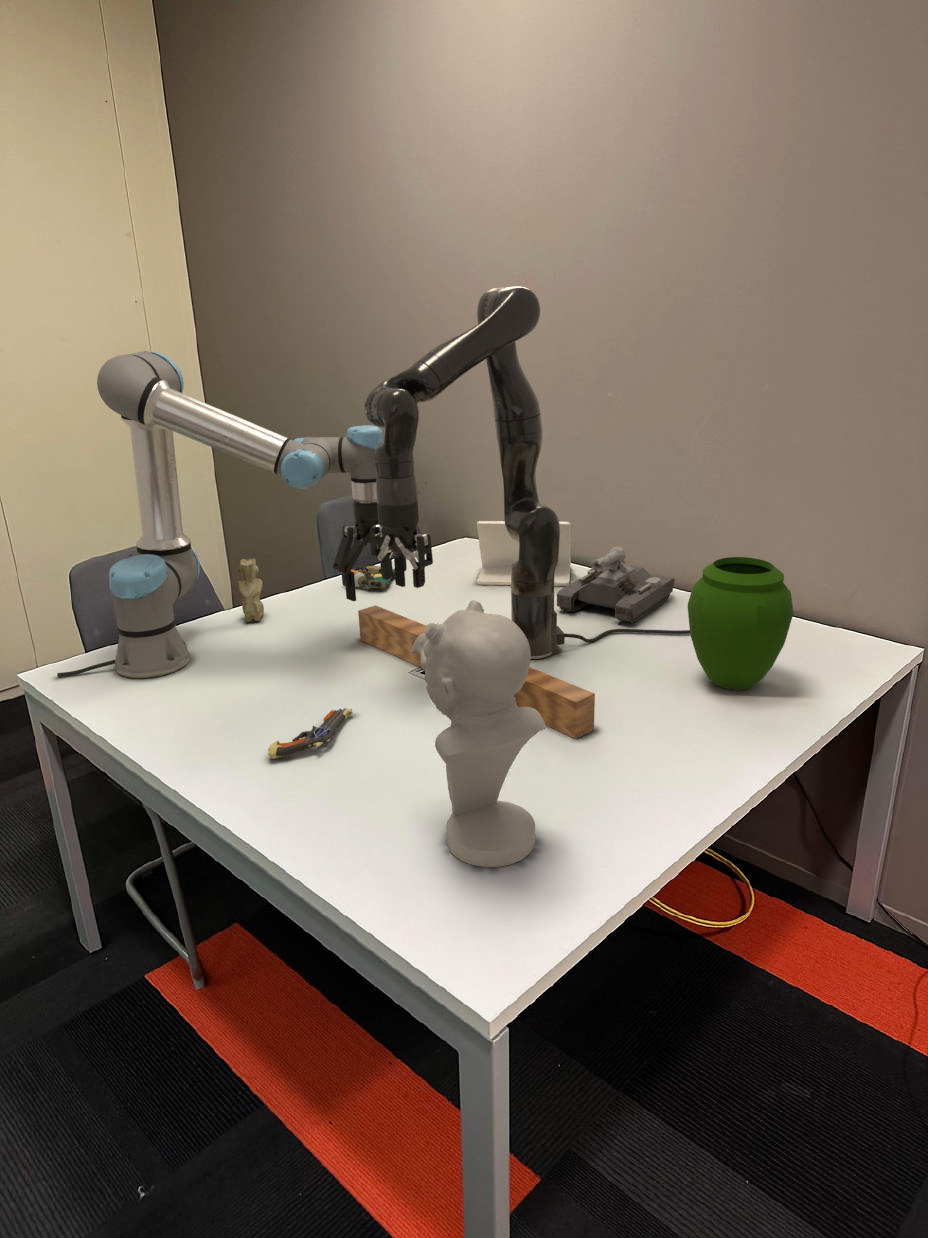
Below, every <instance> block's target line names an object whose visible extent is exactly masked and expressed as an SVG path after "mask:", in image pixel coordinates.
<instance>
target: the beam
mask: <svg viewBox="0 0 928 1238" xmlns="http://www.w3.org/2000/svg"><path fill="white" fill-rule="evenodd" d="M357 613H358V614H357V615H358V624H359V625H358V626H359V638H360V639H359V640H360V641H363V642H364V643H367V644H368V645H371V646H373V647H375V648H377V649H380V650H382V651H384V652H386V653H389V654H390V655H393V656H395V657H397V658H399V659H402V660H403V661H406V662H408V663H410V664H412V665H415V666H417V667H419V668H421V669H422V667H421V654H412V653H411V649H412V647H413V645H414V642H415V640H416V639H417V637H418V636H419V635H421V634H423V633H425V628H426V626H427V625H426V624H423V623H421V622H418V621H416V620H413V619H410V618H409V617H406V616H403V615H401V614H398V613H396V612H393V611H391V610H388V609H386V608H383V607H381V606H378V605H372V606H369V607H366V608H362V609H359V610H357ZM514 697H515V698H516V705H517V706H518V707H530V708H533V709H536V710H537V711H538V712H539V713H540V715H541V716H542V718H543V720H544V722H545V725H546V727H549V728H551V729H553V730H555V731H559V732H560V733H562V734H565V735H566V736H568V737H571V738H573V739H576V740H577V739H578V738H580V737H582V736H585V735H586V734H588V733H591V732H592V731H594V730H595V707H596V693H595V692H593V691H590V690H587V689H585V688H582V687H580V686H579V685H575V684H572V683H570V682H567V681H566V680H563V679H560V678H558V677H555V676H553V675H550V674H547V673H545V672H543V671H540V670H538V669H535V668H533V667H530V666H529V671H528V675H527V678H526V680H525V683H524V685H523V686H522V688H521V689H520V690H519V691H518V692H517V693H516V694H515V695H514Z"/></svg>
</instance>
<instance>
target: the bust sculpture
mask: <svg viewBox="0 0 928 1238" xmlns="http://www.w3.org/2000/svg"><path fill="white" fill-rule="evenodd" d="M411 653H412V654H421V667H422V668H421V667H420V668H421V669H422V670H423V672H424V681H425V682H426V690H427V693H428V696H429V698H430V701H431V702H432V704H434V706H435V708H436V710H438V711H439V712H440V713H441V714H442V716H446V717H447V718H448V719H449V720H450V726H448V727H446V728H445V729H443V730H442V731H441V732H440V733H439V734H438V735H436V738H435V741H434V748H435V749H436V752H437V753H438V755H439V757H440V758H441V760H442V761H443V762H444V763H445V771H446V781H447V790H448V796H449V800H450V803H451V810H452V813H451V814H450V815H449V817H448V819H447V822H446V844H447V847H448V849H449V851H450V852H451V854H452V855H453V856H454V857H456V858H457V859H459V860H460V861H462V862H463V863H466V864H469V865H471V866H476V867H483V868H498V867H505V866H509V865H512V864H517V862H520V861H521V860H523V859H525V858H527V856H528V855H530V854H531V852H532V851H533V849H535V848H534V847H535V845H536V822H535V821H536V820H535V819H534V817H533V816H532V814H531V813H530V812H529V811H528V810H526V809H525V808H524V807H522V806H520V805H517V804H515V803H513V802H509V801H504V800H499V796H500V793H501V790H502V788H503V785H504V783H505V780H506V778H507V776H508V773H509V771H510V769H511V768H512V765H513V763H514V761H515V760H516V759H517V756H518V755H519V753H520V752H521V750H522V749H523V748H524V747H525V745H526V744H527V743H528V742H529V741H530V740H531V739H532V738H533V737H535V735H537V734H538V733H539V732H541V731H544V730H545V729H546V728H547V725H545V722H544V720H543V718H542V716H541V715H540V713H539V712H538V711H537V710H536V709H533V708H530V707H518V706H517V705H516V698H515V697H514V695H515V694H516V693H517V692H518V691H519V690H520V689H521V688H522V686H523V685H524V683H525V680H526V678H527V675H528V671H529V667H530V666H531V659H530V656H531V655H530V653H531V652H530V646H529V643H528V640H527V638H526V636H525V634H524V633H523V632H522V630H521V629H520V628H519V627H518V626H517V625H516V624H515V623H514V622H513V621H512V620H511V618H508V617H507V616H504V615H503V614H502V615H501V614H496V613H485V609H484V607H483V605H482V603H481V602H480V601H478V600H473V599H472V600H470V601H469V603H468V605H467V607H466V609H460V610H457V611H455V612H453V613H451V615H449V616H448V617H447V618H446V619H445V620H444V622H442V624H441V623H435V622H430V623H428V624H427V625H426V628H425V633H423V634H421V635H419V636H418V637H417V639H416V640H415V642H414V645H413V647H412V649H411Z"/></svg>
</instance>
